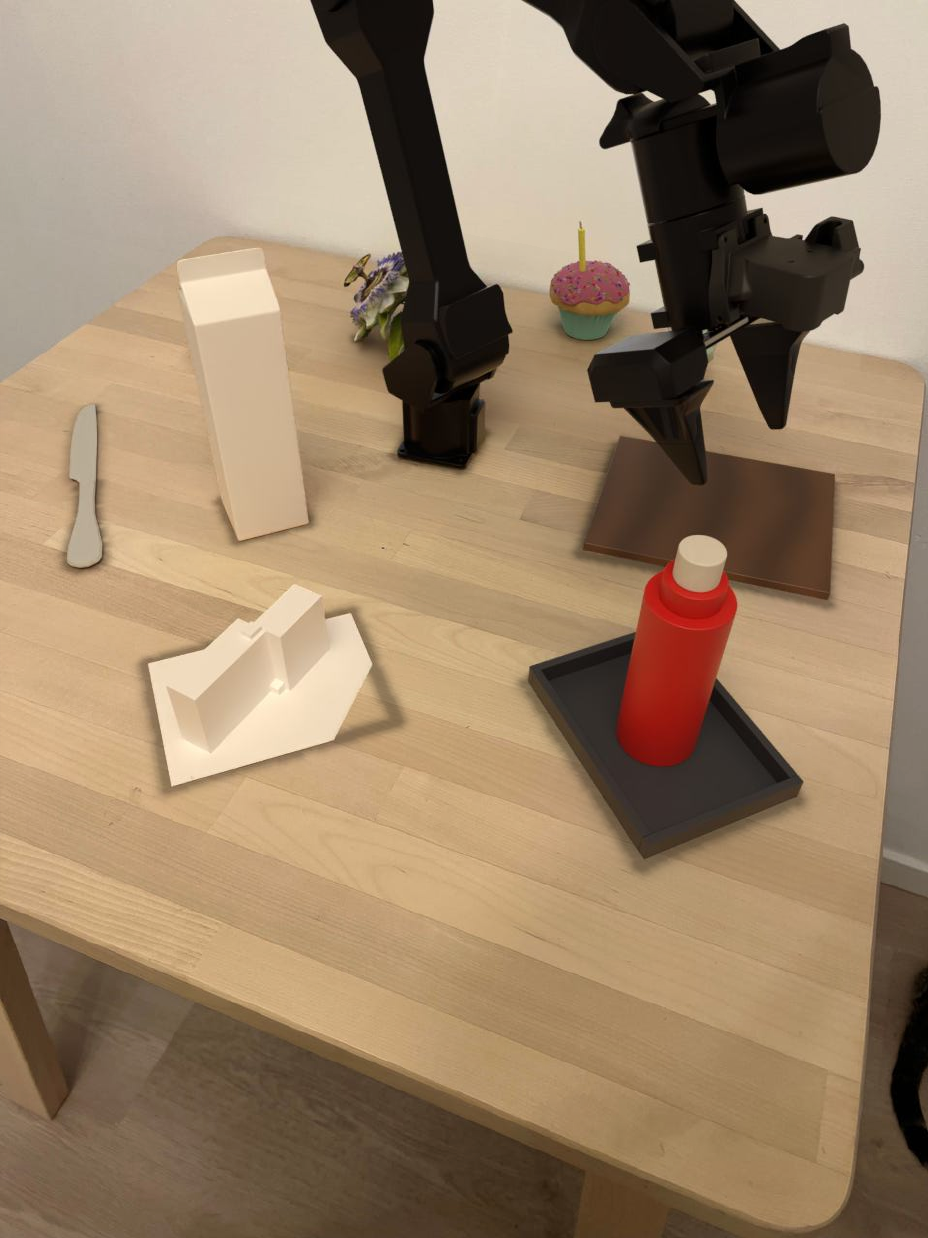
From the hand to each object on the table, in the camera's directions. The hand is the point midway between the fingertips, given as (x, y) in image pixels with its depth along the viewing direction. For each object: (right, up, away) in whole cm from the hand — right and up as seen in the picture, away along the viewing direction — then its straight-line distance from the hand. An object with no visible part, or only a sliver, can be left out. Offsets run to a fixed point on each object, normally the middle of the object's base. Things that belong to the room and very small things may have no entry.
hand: (740, 455), depth 62 cm
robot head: (+4, +13, +33) cm, 36 cm away
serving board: (+3, -2, +17) cm, 17 cm away
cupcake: (-5, +21, +40) cm, 45 cm away
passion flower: (-25, +19, +38) cm, 49 cm away
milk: (-35, -2, +17) cm, 39 cm away
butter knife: (-51, +1, +19) cm, 55 cm away
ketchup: (-6, -18, 0) cm, 19 cm away
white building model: (-32, -16, +3) cm, 36 cm away
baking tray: (-6, -19, 0) cm, 20 cm away
